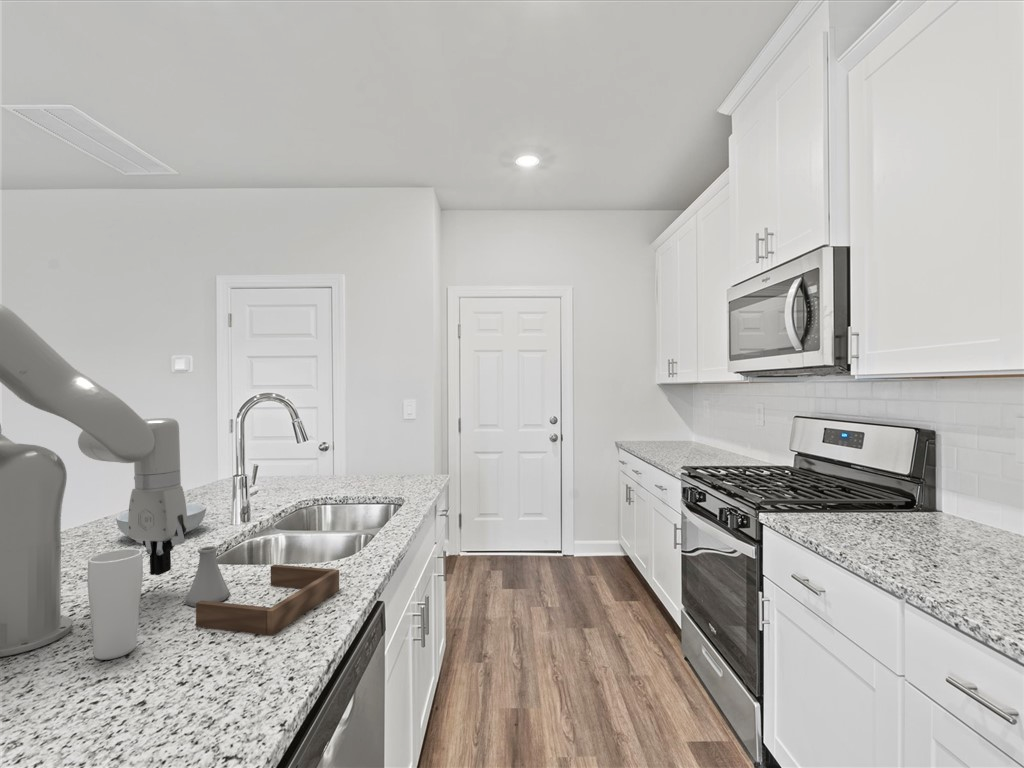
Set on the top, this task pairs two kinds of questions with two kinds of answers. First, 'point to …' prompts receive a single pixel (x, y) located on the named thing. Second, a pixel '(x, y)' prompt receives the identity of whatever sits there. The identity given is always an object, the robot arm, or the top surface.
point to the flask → (207, 579)
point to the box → (271, 620)
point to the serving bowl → (193, 517)
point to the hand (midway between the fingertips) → (160, 572)
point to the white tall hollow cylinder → (115, 601)
